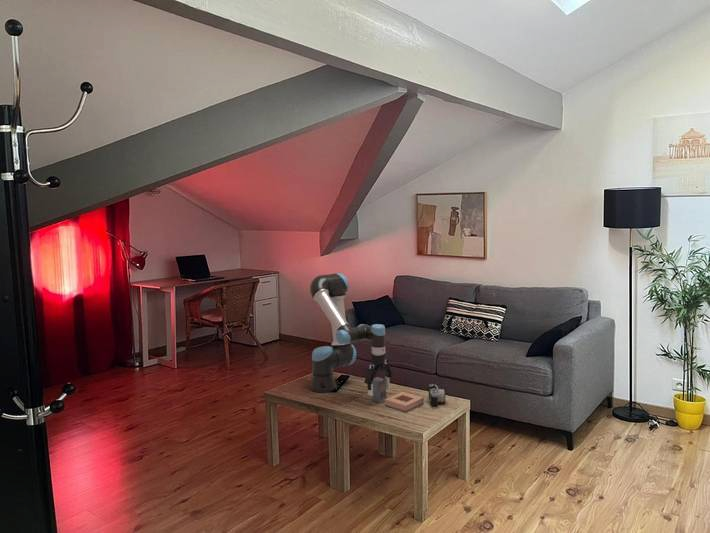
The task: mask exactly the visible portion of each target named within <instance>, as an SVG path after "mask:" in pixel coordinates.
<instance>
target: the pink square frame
mask: <svg viewBox="0 0 710 533" xmlns="http://www.w3.org/2000/svg"><path fill="white" fill-rule="evenodd" d="M422 405H424V397H422V396H418V395H416V394H412V393H409V392H405V391H401V392H399V393H397V394H394V395H391V396H389V397H386V399H385V402H384V406H385V407H387V408H391V409H394V410H397V411H401V412H403V413H408V412H410V411H412V410H414V409H417V408H418V407H420V406H422Z"/></svg>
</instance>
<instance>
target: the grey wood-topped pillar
mask: <svg viewBox="0 0 710 533" xmlns="http://www.w3.org/2000/svg"><path fill="white" fill-rule="evenodd" d="M372 384H373V396H371V401H372V402H375V403H377V404H382V403H385V399H387V389H386V379H385V378H382V377H379V376H377V377H376V376H375V377H374V380H373V382H372Z"/></svg>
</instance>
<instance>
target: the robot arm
mask: <svg viewBox="0 0 710 533" xmlns="http://www.w3.org/2000/svg"><path fill="white" fill-rule="evenodd" d="M349 285H350V284H349V281H348V278H347V277H346V275H344V274H343V273H338V272H337V273H329V274H320V275H317V276H316V277H314V278H313V279H312V281H311V283H310V285H309V291H310V292H309V293H310V295H311V297H312V299H313V301H314V302H317V303H318V305H319V307H320V308H321V310H322V311H323V313H324V314H325V316H326V318H327V320H328V321H329V322H330V324H331V330H332V331H331V332H332V339H333V341H332V342H331V346H330V345H329V346H328V345H325V346H319V347H316V348H314V349H313V350H312V353H311V361H312V362H311V364H312V367H311V368H312V376H311V381H310V383H309V390H310V391H312V392H314V393H321V394H323V393H330V392H333V391H334V390H333V389H334V388H335V387H336V388H337V382H336V379H335V376H334V369H339V368H341V367H342V368H343V367H348V366H350V365H352V364H354V362H355V361H356V359H357V349H356V348H355V346H354V345H353V344H352V343H355V342H361V341H365V340H366V341H370V342H371V343H370V344H371V345H370V346H371V348H370V349H371V350H370V352H371V355H370V357H371V361H372V364H368V368H367V372H366V376H365V379H364V384H367V395H368V396H370V397H372V396H373V384H372V382H373V380H374V378H376V375H377V374H378V373H379V372H381V371H382V373H383V374H384V379H386V390H390V382H391V381H390V380H391V378H392V376H393V371H392V369H391V366H390V363H389V361H390V360H388V359H386V358H387V357H386V356H387V355H386V327H385V325H384V324H380V323H379V324H378V323H376V324H372V325H368V324H363V323H361V324H359V325H358V326H356V327H351V326H350V325H349V323H348V321H347V319H346V309H345V300H344V299H345V297H346V296H347V295H346V294H347V292H348V291H349V288H350V286H349ZM332 390H333V391H332Z"/></svg>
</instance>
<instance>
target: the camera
mask: <svg viewBox="0 0 710 533" xmlns="http://www.w3.org/2000/svg"><path fill="white" fill-rule="evenodd" d="M427 392H428V399H429V403H430V408H431V409H438V407H439V406H438V403H445V401H446V391H445V388H444V389H441V388H439V386H438V385H436V384H433V383H431V384H428V385H427Z"/></svg>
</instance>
